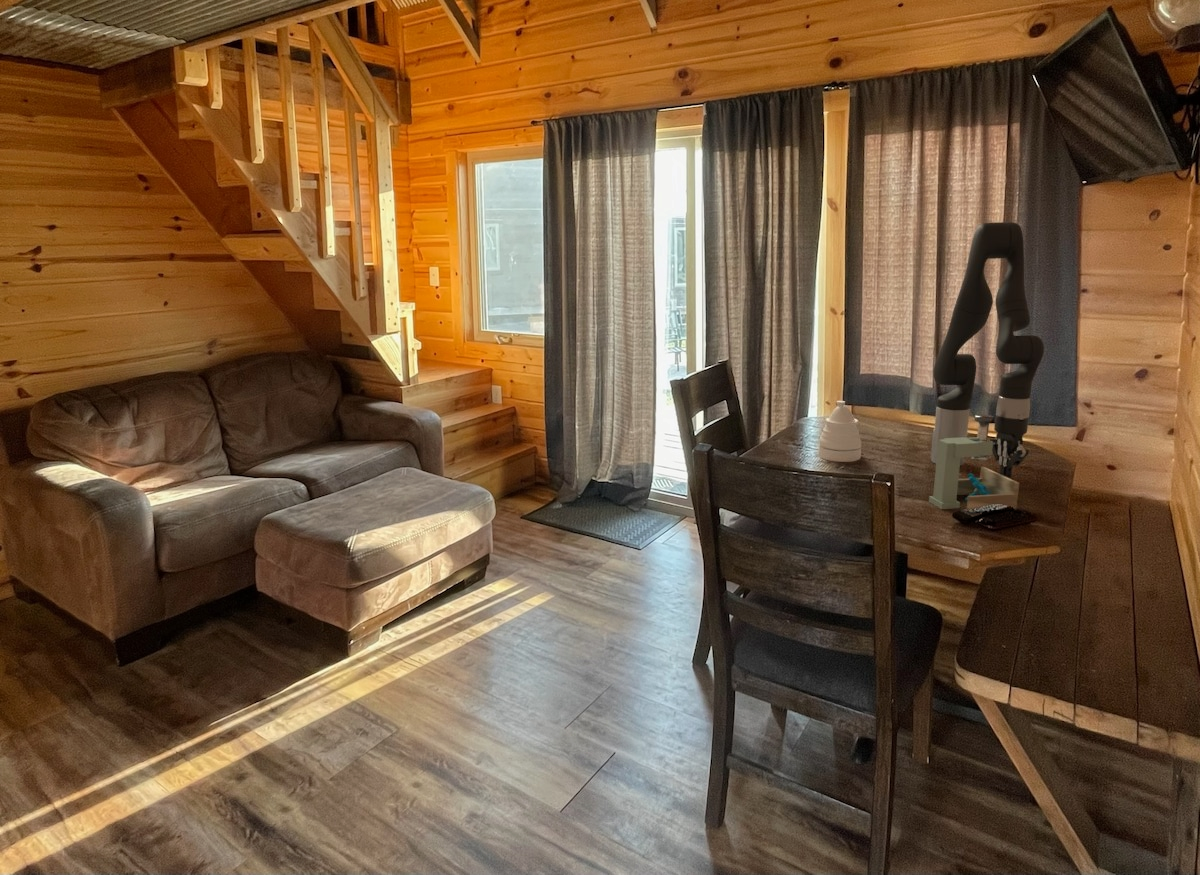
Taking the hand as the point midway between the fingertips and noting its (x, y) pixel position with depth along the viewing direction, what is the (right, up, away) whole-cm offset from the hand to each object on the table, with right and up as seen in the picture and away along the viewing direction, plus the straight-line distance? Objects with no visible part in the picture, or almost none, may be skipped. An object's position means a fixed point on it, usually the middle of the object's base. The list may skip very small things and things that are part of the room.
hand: (1004, 479), depth 208 cm
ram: (-8, +5, -2) cm, 10 cm away
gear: (-6, -6, +1) cm, 9 cm away
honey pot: (-29, +5, +45) cm, 54 cm away
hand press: (-12, -6, 0) cm, 14 cm away
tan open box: (-8, -6, 0) cm, 10 cm away
